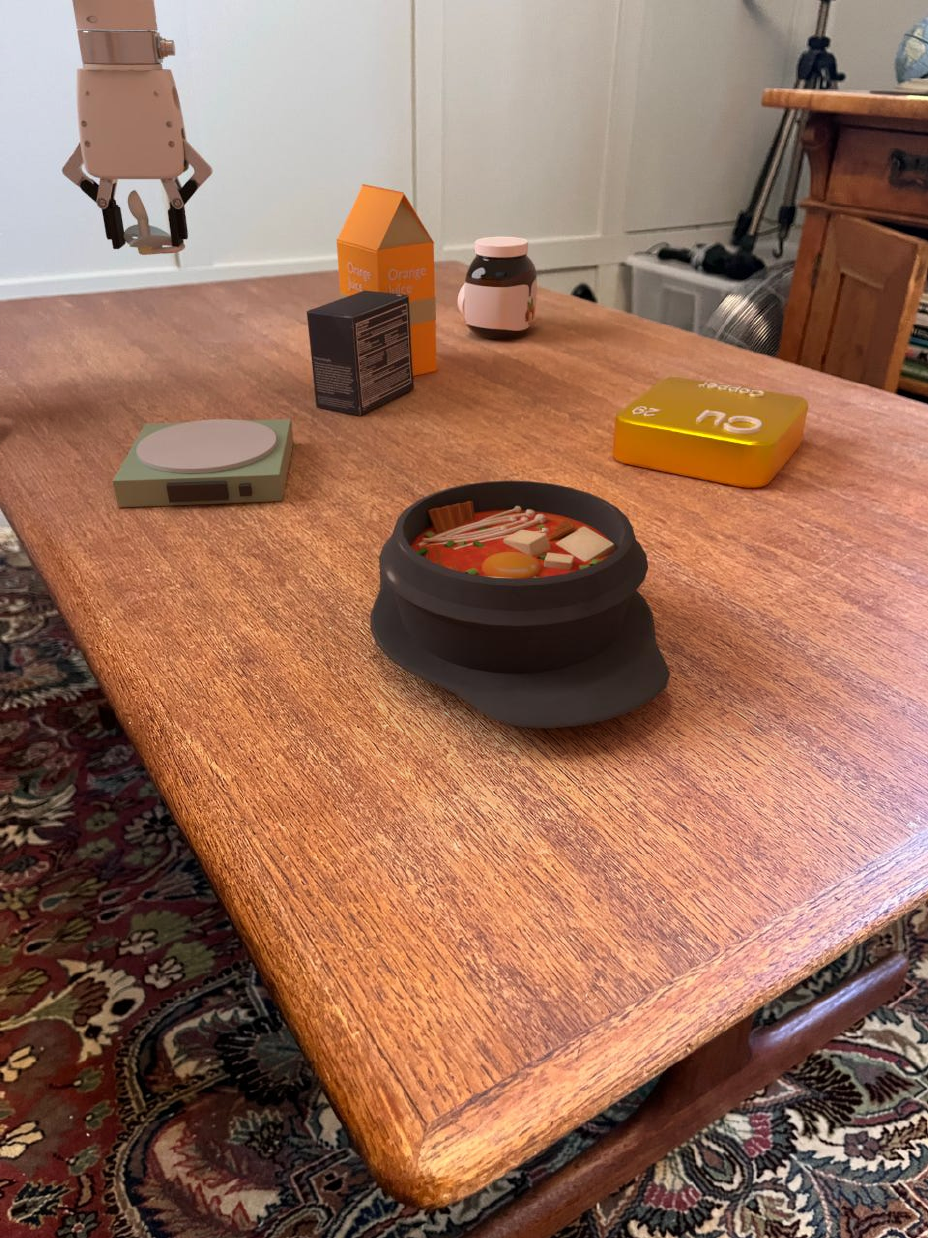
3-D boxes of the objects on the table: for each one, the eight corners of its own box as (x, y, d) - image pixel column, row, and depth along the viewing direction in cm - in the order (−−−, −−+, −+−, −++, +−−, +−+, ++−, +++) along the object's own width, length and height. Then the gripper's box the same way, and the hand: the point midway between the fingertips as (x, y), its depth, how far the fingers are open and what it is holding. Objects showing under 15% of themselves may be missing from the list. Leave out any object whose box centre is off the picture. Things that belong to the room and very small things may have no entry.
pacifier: (178, 245, 110) (123, 247, 108) (171, 184, 107) (114, 186, 104) (191, 256, 104) (133, 259, 102) (185, 193, 101) (124, 194, 99)
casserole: (325, 582, 72) (315, 476, 68) (550, 537, 78) (554, 438, 74) (452, 790, 52) (449, 659, 48) (740, 708, 59) (761, 586, 54)
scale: (116, 510, 83) (109, 477, 82) (149, 448, 96) (144, 418, 94) (282, 503, 84) (278, 471, 83) (293, 442, 97) (290, 413, 95)
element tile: (806, 439, 96) (815, 392, 94) (763, 493, 85) (771, 441, 83) (661, 414, 103) (666, 369, 101) (604, 461, 92) (608, 412, 90)
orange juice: (382, 382, 113) (372, 195, 102) (344, 365, 119) (331, 186, 109) (438, 370, 117) (434, 188, 106) (398, 353, 123) (390, 180, 113)
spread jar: (507, 345, 125) (508, 250, 119) (433, 334, 131) (431, 242, 125) (550, 324, 134) (553, 234, 128) (479, 314, 139) (479, 227, 133)
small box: (369, 380, 114) (363, 287, 108) (416, 389, 111) (412, 294, 105) (312, 407, 106) (303, 308, 100) (361, 417, 103) (354, 315, 98)
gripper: (214, 53, 100) (234, 240, 109) (42, 51, 99) (76, 240, 108) (204, 54, 94) (225, 253, 103) (19, 52, 92) (57, 253, 102)
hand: (148, 244), depth 105 cm, fingers closed on pacifier, 5 cm apart
